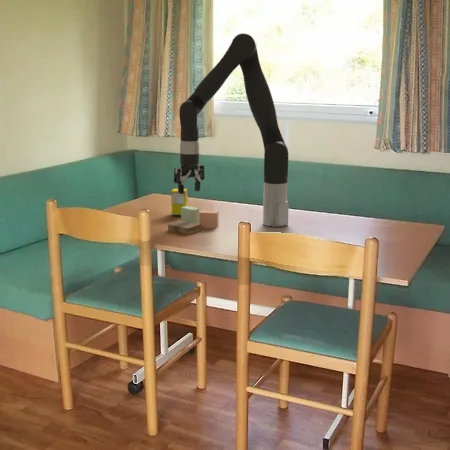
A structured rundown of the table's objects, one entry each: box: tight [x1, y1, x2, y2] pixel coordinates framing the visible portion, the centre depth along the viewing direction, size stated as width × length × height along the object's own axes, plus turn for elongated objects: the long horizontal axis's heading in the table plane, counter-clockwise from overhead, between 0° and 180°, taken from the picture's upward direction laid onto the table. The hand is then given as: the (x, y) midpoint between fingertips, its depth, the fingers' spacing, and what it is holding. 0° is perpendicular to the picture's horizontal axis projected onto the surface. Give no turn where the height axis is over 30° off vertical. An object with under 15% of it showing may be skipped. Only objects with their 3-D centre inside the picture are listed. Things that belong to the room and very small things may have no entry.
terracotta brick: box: [199, 209, 220, 229], centre depth 250 cm, size 7×4×6 cm, turn 80°
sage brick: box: [180, 205, 200, 223], centre depth 257 cm, size 7×4×6 cm, turn 45°
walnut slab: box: [167, 219, 202, 236], centre depth 245 cm, size 10×8×3 cm
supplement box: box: [170, 187, 189, 217], centre depth 267 cm, size 6×6×11 cm
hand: (189, 192), depth 254 cm, fingers open, 8 cm apart
